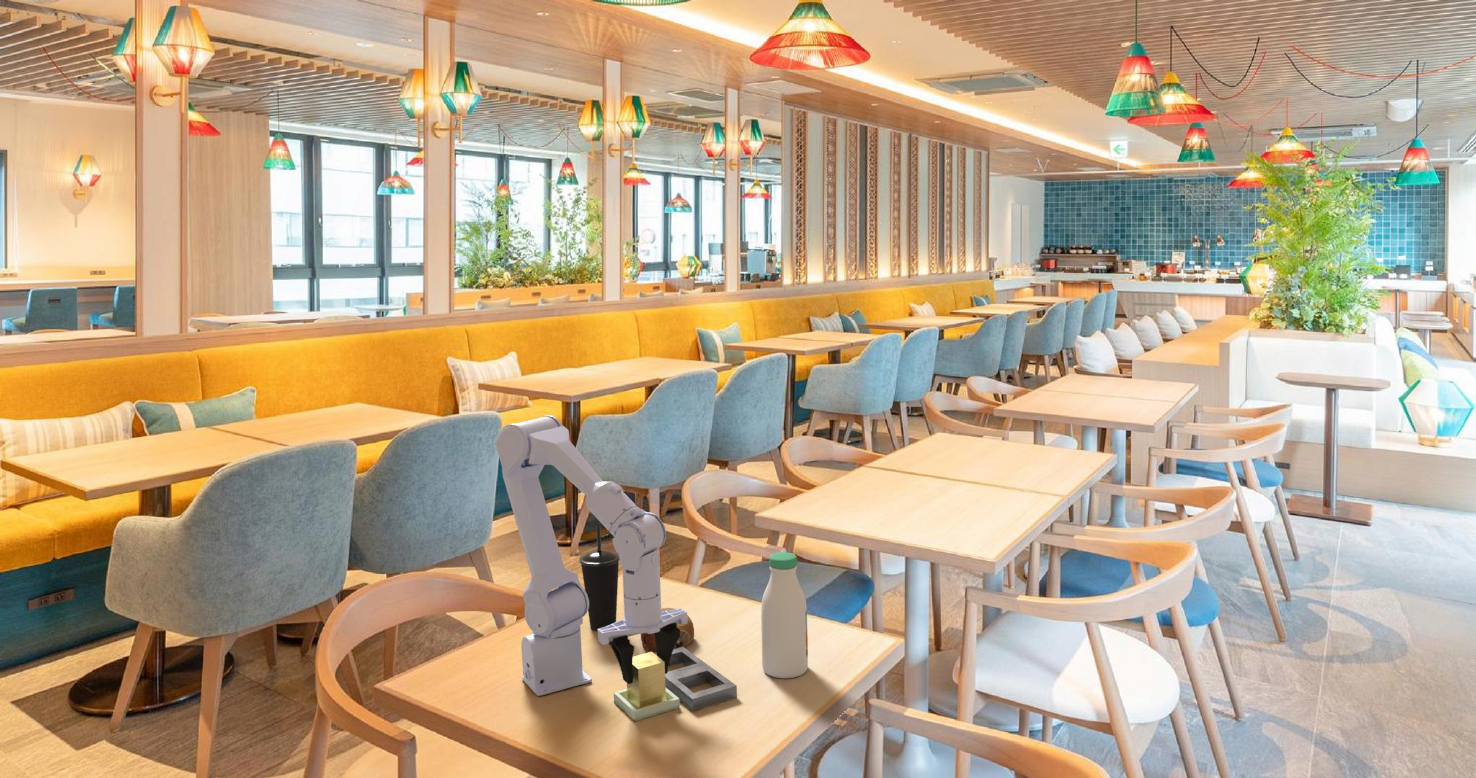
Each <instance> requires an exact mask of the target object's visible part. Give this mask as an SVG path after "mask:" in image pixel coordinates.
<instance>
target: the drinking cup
mask: <svg viewBox="0 0 1476 778" xmlns="http://www.w3.org/2000/svg"><path fill="white" fill-rule="evenodd" d="M595 528H596V542H597V543H596V544H597V549H596V550H592V551H589V552H586V553H584V554H582V555H581V556H580V557H579V559H578V561H579V564H580V565H581V566H580V567H581V572H582V580H583V586H584V587H583V588H584V590H585V591H586V593H587V595H588V599H589V609H588V612H587V613H588V621H589V626H590V627H589V628H590V629H591V630H593V631H596V632H598V630H597V629H600V628H603V627H606V626H608V625H611V624H613V623H615V622H617V609H618V608H617V607H618V587H619V586H618V585H619V568H620V567H619V565H620V558H619V555H618V553H617V552H616V551H612V550H611V551H610V550H608V549H602V539H601V537H602V536H601V523H600V524H599V523H597V524H596V526H595Z"/></svg>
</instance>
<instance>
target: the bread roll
mask: <svg viewBox="0 0 1476 778" xmlns="http://www.w3.org/2000/svg"><path fill="white" fill-rule="evenodd" d="M669 610H676V608H673V607H665V608H662V607H661V611H669ZM677 628H678V629H680V638H679V639H678V641H677V643H676V645H675V647H674V649H676V648H680V647H684V648H685V649H686V647H688V646H689V645H690V644H691V643H692V641H693V640H694V639H695V628H694V623H693V621H692V619H691V618H690V616H689V615H688V614H687V624H684V625H681V624H677ZM640 640H641V645H642V648H644V649H646V650H647V649H648V651H649V650H650V651H649V652H653V651H655V652H654V653H657V648H656V640H655V635H654V633H652V634H648V633H641V634H640ZM689 643H690V644H689Z"/></svg>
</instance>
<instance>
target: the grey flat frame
mask: <svg viewBox="0 0 1476 778" xmlns="http://www.w3.org/2000/svg"><path fill="white" fill-rule="evenodd" d="M654 654H655V655H657V653H654ZM681 663H682V664H683V665H685V666H684V667H683V666H682V667H681V668H677V669H674V670H673V669H672V670H670V671H669V670H668V672H667V673H666V674H665V687H666V688H667V689H668V690H670V691H671V692H672V693H673V694H674V695H676V696H677V697H678V698H679V699H680V702H681V703H682V704H683V705H685V706H686V707H687V708H688V709H690V710H691V711H692V712H695V711H699V710H701V709H704V708H707V707H711V706H714V705H717V704H720V703H724V702H727V701H731V700H734V699H736V698H738V687H737V686H738V685H737V684H735V683H734V682H732V680H729V679H728V678H727V677H726V676H725V675H723V674H722V673H720V672H718V671H717V670H716V669H714V668H713V667H712V666H710V665H709V664H708V663H706V662H704V661H703V660H702V659H700V657H698V656H696V655H695V654H694V653H693V652H691V651H690V650H688V649H687V648H686V647H685V648H684V647H680V648H676V649H673V652H672V655H671V658H670V662H669V667H670V666H674V665H679V664H681ZM705 683H708V684H710V685H711V686H712V687H710V688H709V687H708V688H706V689H703V690H699V691H696V692H693V691H692V690H691V689H689V688H692V687H696V686H700V685H702V684H705Z"/></svg>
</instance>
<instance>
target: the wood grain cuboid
mask: <svg viewBox="0 0 1476 778" xmlns="http://www.w3.org/2000/svg"><path fill="white" fill-rule="evenodd" d="M655 654H656V653H655V652H653V651H649V652H645V653H642V654H638V655H635V656H634V655H633V660H632V669H633V683H631V684H628V683H626V689H627V696H628V701H629V702H630V703H631V704H632V705H633V706H634V707H635V708H636V709H640V708H643V707H647V706H650V705H653V704H657V703H660V702H663V701H666V688H665V662H664V661H663V660H662V659H660V658H659V657H658V656H657V655H655Z"/></svg>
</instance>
